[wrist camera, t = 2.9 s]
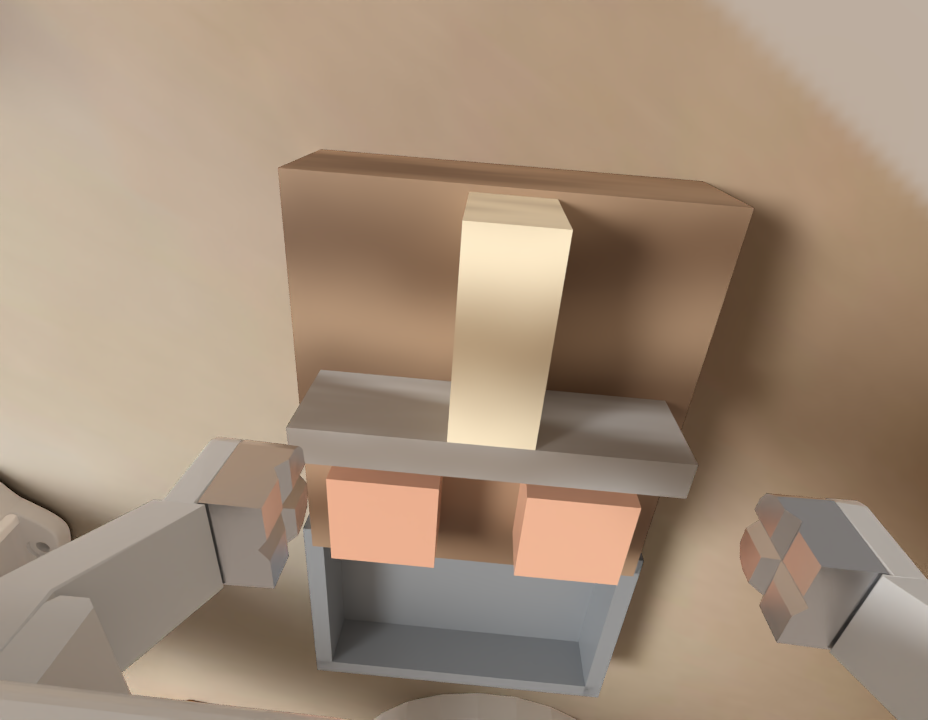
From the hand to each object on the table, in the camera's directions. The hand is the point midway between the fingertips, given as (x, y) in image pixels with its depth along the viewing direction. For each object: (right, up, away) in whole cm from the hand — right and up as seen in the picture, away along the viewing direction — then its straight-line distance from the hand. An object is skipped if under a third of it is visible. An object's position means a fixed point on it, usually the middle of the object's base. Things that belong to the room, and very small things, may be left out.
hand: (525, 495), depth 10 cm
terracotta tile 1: (+4, -4, +15) cm, 16 cm away
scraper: (0, +4, +11) cm, 11 cm away
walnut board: (0, +3, +17) cm, 17 cm away
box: (-1, -11, +24) cm, 27 cm away
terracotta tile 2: (-4, -3, +15) cm, 16 cm away
